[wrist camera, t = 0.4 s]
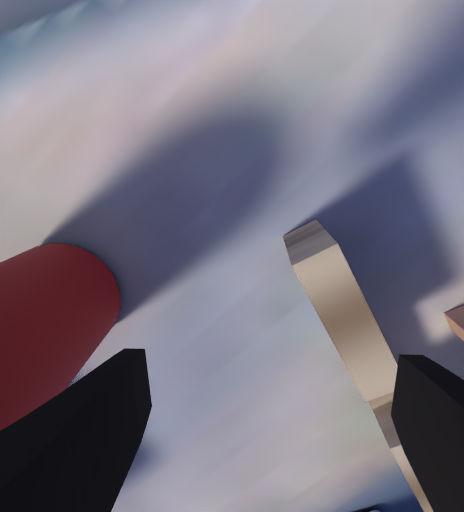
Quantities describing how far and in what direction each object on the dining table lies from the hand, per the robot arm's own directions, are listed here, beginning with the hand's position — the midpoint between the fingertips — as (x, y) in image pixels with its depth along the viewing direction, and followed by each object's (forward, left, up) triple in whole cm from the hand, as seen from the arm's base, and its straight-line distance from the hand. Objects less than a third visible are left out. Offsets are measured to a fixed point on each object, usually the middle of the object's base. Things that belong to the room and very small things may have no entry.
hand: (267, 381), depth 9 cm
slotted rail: (-8, -3, -10) cm, 13 cm away
